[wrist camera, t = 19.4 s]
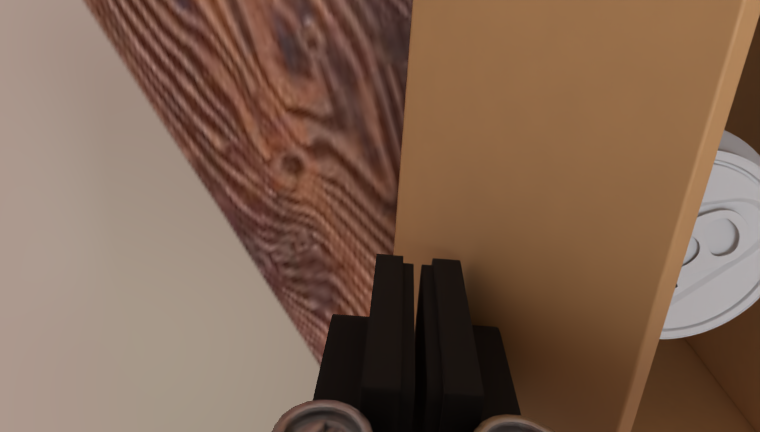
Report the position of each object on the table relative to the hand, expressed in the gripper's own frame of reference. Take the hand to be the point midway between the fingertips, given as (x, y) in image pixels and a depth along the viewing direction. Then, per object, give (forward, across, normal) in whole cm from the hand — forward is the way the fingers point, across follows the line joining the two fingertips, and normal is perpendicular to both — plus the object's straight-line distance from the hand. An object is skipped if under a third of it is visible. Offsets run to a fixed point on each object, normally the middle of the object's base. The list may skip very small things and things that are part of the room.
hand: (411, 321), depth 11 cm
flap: (0, -2, 0) cm, 2 cm away
